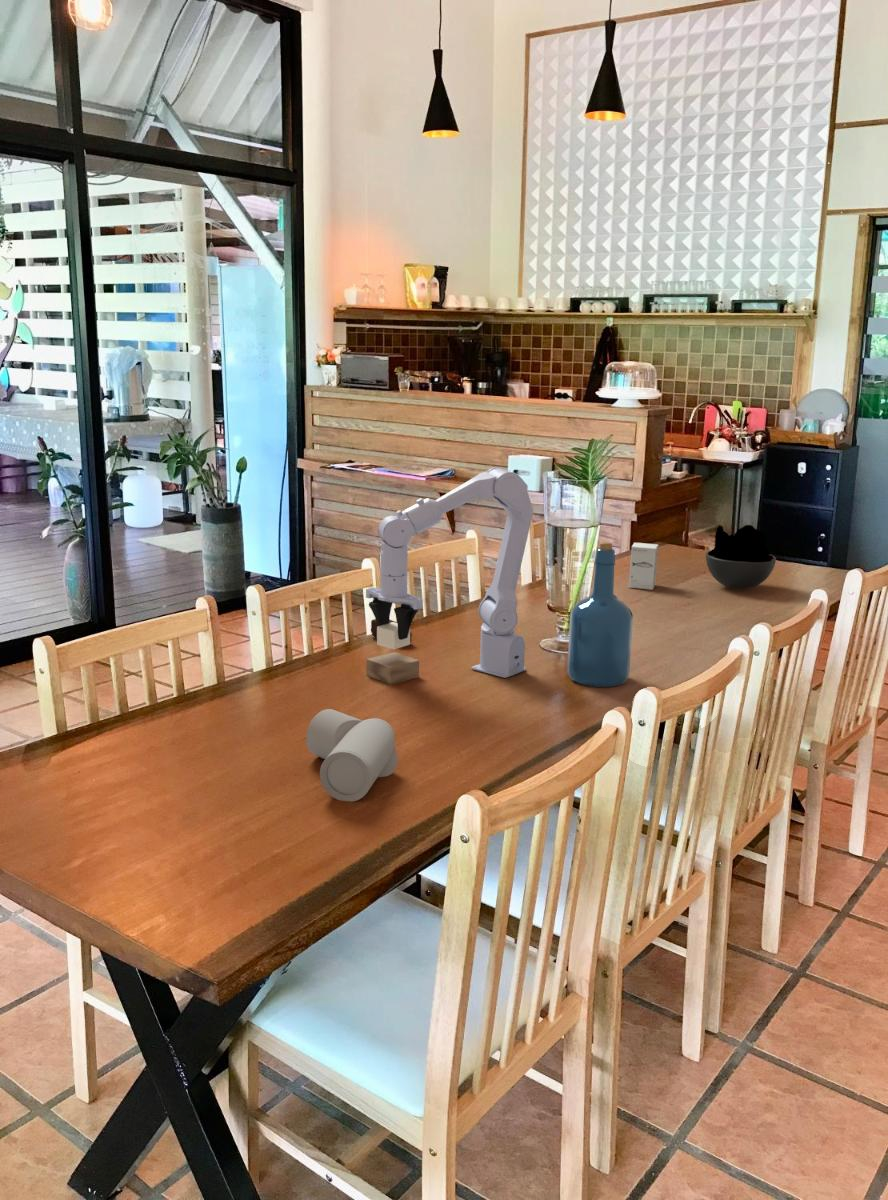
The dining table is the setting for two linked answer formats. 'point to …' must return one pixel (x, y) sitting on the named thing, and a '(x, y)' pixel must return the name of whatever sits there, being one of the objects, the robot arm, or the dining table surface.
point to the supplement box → (643, 566)
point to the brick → (374, 626)
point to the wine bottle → (600, 630)
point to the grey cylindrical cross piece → (351, 752)
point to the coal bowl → (740, 558)
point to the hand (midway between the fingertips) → (393, 635)
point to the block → (391, 636)
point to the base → (392, 668)
